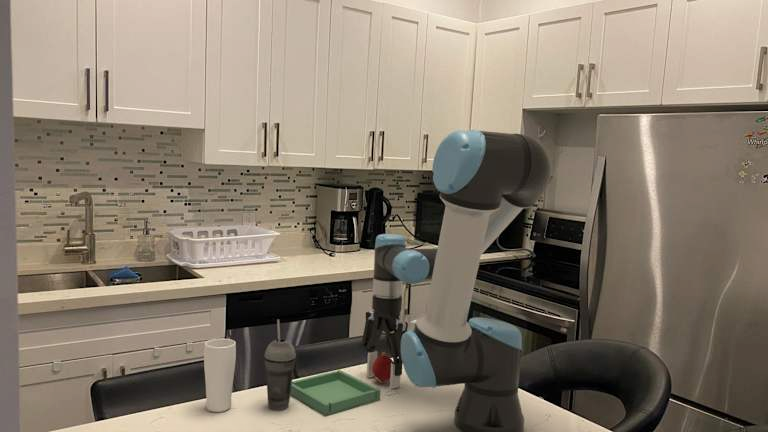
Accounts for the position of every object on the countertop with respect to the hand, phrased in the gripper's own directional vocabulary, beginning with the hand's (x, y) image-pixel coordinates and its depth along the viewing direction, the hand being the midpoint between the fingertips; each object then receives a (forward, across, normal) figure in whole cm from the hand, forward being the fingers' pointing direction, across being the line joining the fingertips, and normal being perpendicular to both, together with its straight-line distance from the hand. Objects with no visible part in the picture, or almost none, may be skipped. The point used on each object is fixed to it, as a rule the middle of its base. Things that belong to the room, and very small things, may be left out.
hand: (382, 381), depth 155 cm
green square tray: (0, 0, +16) cm, 16 cm away
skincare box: (+1, +6, -19) cm, 20 cm away
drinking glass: (0, +9, +41) cm, 42 cm away
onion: (+1, 0, 0) cm, 1 cm away
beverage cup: (0, +2, +30) cm, 30 cm away
